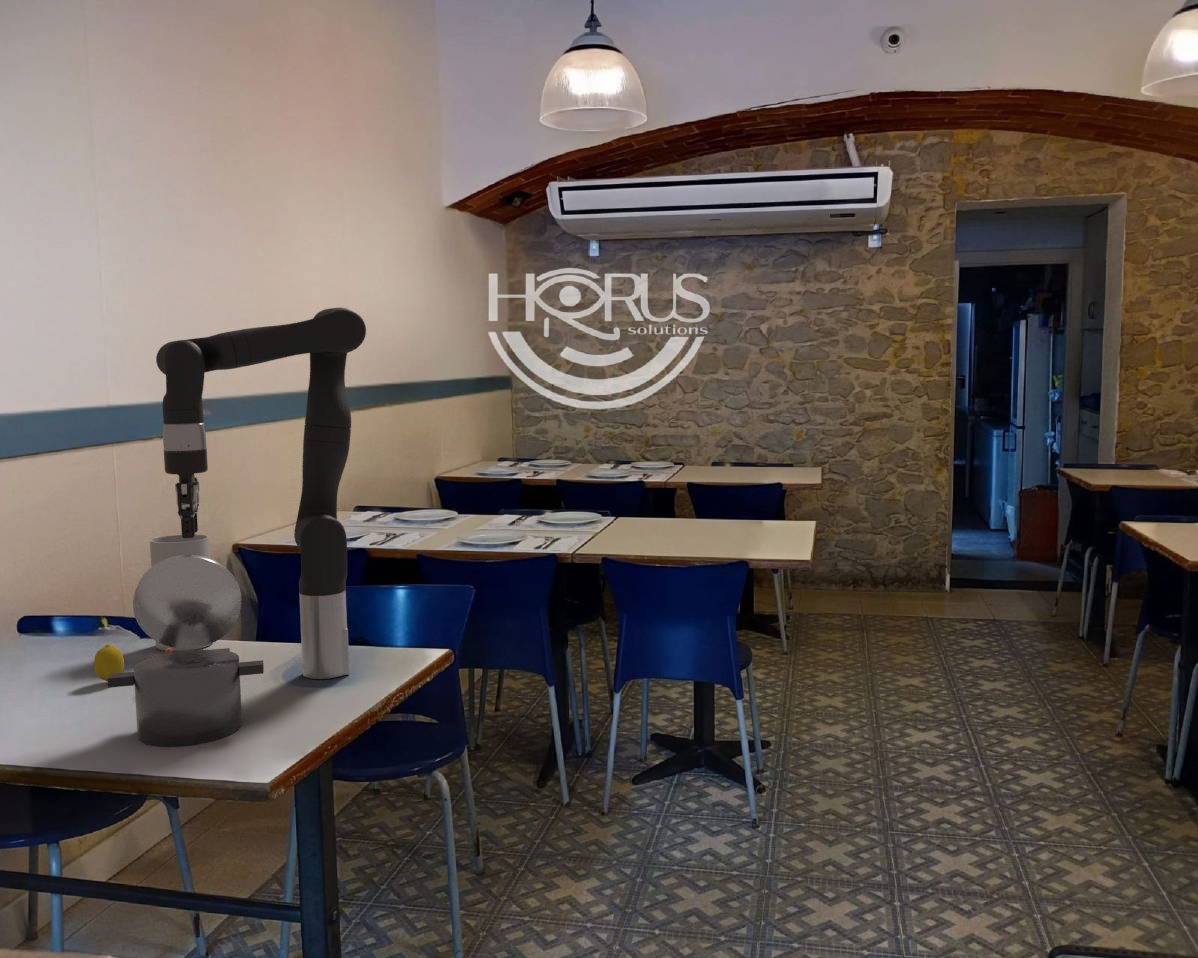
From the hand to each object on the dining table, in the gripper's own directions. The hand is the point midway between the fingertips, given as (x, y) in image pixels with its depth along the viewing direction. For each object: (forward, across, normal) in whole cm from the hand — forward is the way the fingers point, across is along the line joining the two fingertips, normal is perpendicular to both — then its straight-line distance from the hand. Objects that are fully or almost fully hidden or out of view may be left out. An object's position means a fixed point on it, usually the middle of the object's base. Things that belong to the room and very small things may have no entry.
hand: (190, 534), depth 196 cm
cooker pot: (+32, -19, 0) cm, 37 cm away
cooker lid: (+11, -12, 0) cm, 16 cm away
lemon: (+32, +17, +18) cm, 40 cm away
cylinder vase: (+32, +44, +6) cm, 55 cm away
